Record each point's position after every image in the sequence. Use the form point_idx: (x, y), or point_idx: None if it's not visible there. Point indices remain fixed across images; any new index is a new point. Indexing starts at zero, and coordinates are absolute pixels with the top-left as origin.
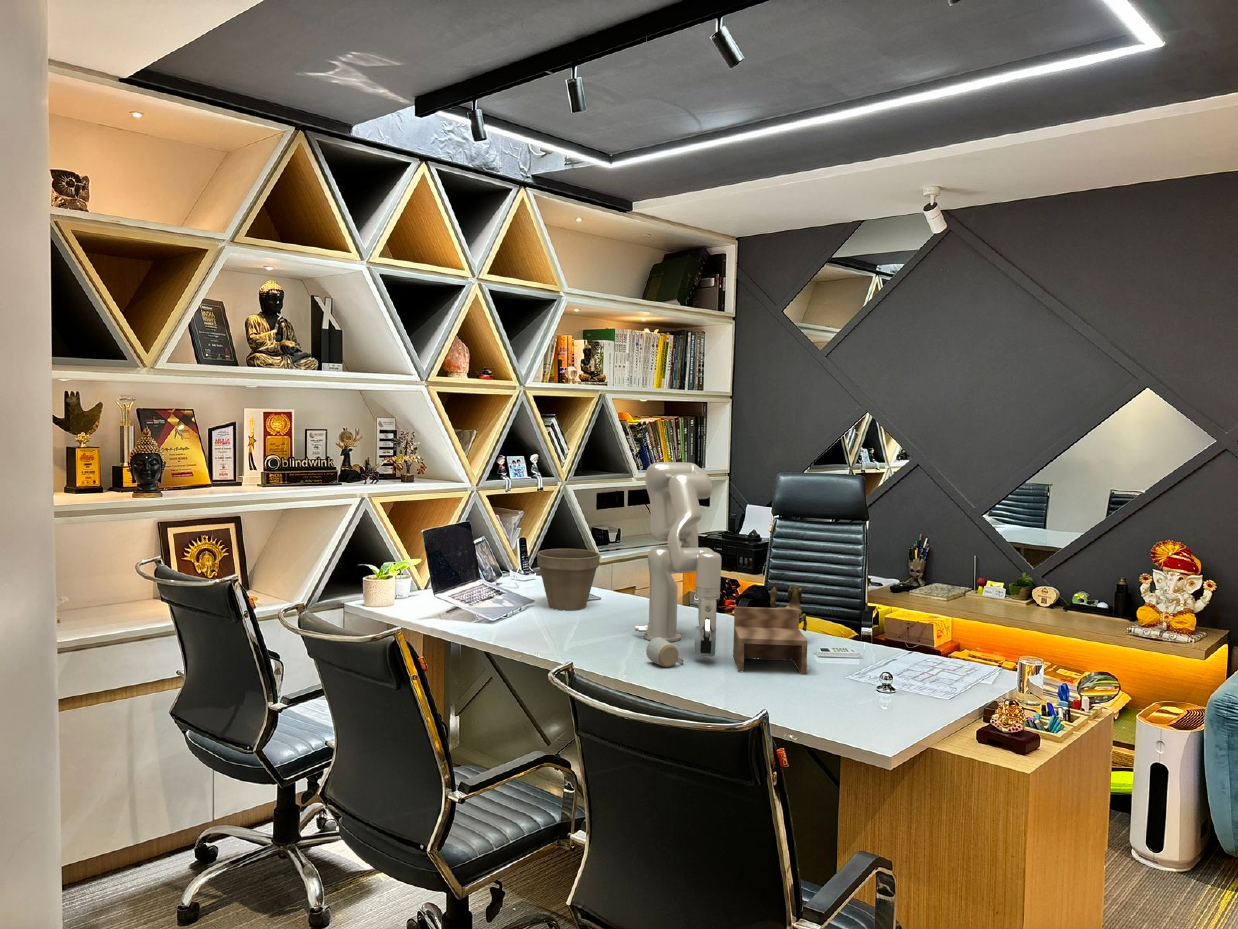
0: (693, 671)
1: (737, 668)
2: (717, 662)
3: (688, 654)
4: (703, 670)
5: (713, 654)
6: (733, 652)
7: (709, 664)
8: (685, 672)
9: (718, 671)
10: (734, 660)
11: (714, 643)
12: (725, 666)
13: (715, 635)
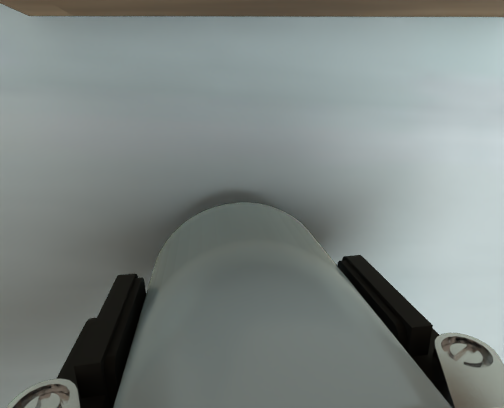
0: (475, 310)
1: (453, 14)
2: (243, 166)
3: (56, 359)
4: (456, 258)
5: (297, 221)
6: (33, 2)
7: (308, 223)
8: (492, 346)
9: (483, 166)
10: (181, 14)
11: (320, 261)
12: (353, 109)
13: (345, 312)
